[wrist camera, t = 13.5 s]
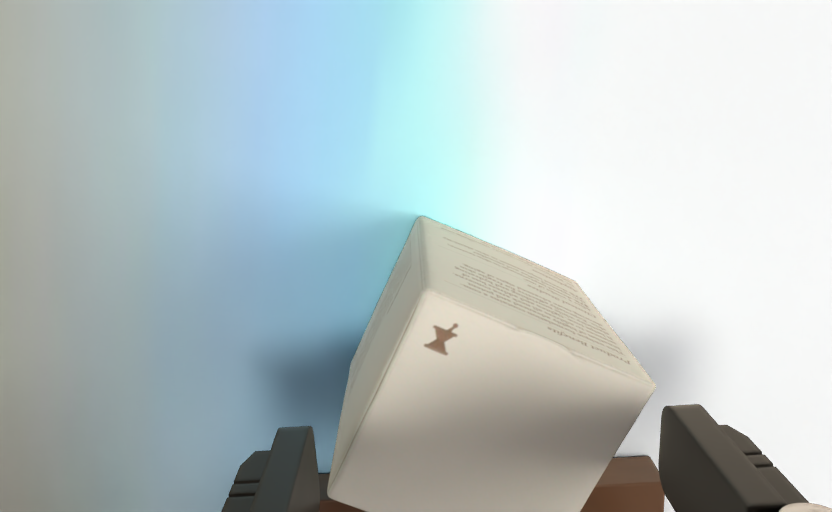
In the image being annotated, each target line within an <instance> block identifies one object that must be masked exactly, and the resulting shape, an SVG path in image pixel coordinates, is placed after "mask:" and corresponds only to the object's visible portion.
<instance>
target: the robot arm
mask: <svg viewBox="0 0 832 512" xmlns="http://www.w3.org/2000/svg"><path fill="white" fill-rule="evenodd" d="M659 476H660V482H661V485H662V488H663V491H664V493H665V495H666V497H667V499H668V500H669V502H670V503H671V505H672V507H673V508H674V510H675V512H832V509H831V508H828V507H825V506H822V505H818V504H812V503H809V502H808V501H807V500H806V499H805V498H804V497H803V496H802V495H801V494H800V492H799V491H798V490H797V489H796V488H795V487H794V486H793V485H792V484H791V483H790V482H789V481H788V480H787V478H786V477H785V476H784V475H783V474H782V473H781V472H780V471H779V470H778V469H777V468H776V467H773V463H772V462H771V461H770V460H769V459H768V458H767V457H766V456H765V455H762V452H761V450H760V449H759V448H758V447H757V446H756V445H755V444H754V443H753V442H752V441H751V440H750V439H749V438H748V437H747V436H745V435H744V434H742V433H740V432H738V431H737V430H735V429H733V428H731V427H730V426H728V425H718V424H717V423H716V421H715V420H714V419H713V418H712V417H711V416H710V415H709V413H708V412H707V411H706V410H705V409H704V408H703V407H702V406H701V405H699V404H694V405H676V406H665V407H664V409H663V411H662V417H661V434H660V450H659ZM319 507H320V486H319V477H318V468H317V459H316V450H315V442H314V434H313V429H312V427H311V426H300V427H282V428H278V430H277V433H276V436H275V439H274V441H273V444H272V447H271V450H269V451H255V452H254V453H253V454H252V455H251V456H250V457H249V458H248V459H247V460H246V461H245V462H244V463H243V464H242V465H241V466H240V468H239V470H238V473H237V475H236V478H235V480H234V484H233V485H232V487H231V490H230V492H229V497H228V498H227V499H226V502H225V504H224V507H223V509H222V512H319Z"/></svg>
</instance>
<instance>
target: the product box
mask: <svg viewBox="0 0 832 512" xmlns="http://www.w3.org/2000/svg"><path fill="white" fill-rule="evenodd" d="M655 388H656V385H655V383H654V382H653V381H652V379H651V378H650V377H649V375H648V374H647V373H646V371H645V370H644V369H643V368H642V366H641V365H640V364H639V362H638V361H637V359H636V358H635V357H634V356H633V355H632V353H631V352H630V350H629V349H628V348H627V347H626V346H625V344H624V343H623V342H622V341H621V339H620V338H619V337H618V335H617V334H616V333H615V332H614V331H613V329H612V328H611V327H610V325H609V324H608V323H607V322H606V320H605V319H604V318H603V317H602V315H601V314H600V313H599V311H598V310H597V309H596V308H595V306H594V305H593V304H592V302H591V301H590V299H589V298H588V297H587V296H586V294H585V293H584V292H583V290H582V289H581V288H580V286H579V285H578V283H577V282H576V281H573V280H571V279H569V278H567V277H565V276H563V275H561V274H558V273H556V272H554V271H552V270H549V269H547V268H545V267H543V266H540V265H538V264H536V263H534V262H531V261H529V260H527V259H525V258H522V257H520V256H518V255H515V254H513V253H511V252H508V251H506V250H504V249H501V248H499V247H496V246H494V245H492V244H489V243H487V242H485V241H482V240H480V239H477V238H475V237H473V236H470V235H468V234H465V233H463V232H461V231H458V230H456V229H454V228H451V227H449V226H447V225H444V224H441V223H439V222H436V221H434V220H431V219H429V218H426V217H424V216H420V217H418V218H417V220H416V221H415V223H414V226H413V228H412V230H411V232H410V234H409V237H408V239H407V241H406V243H405V245H404V247H403V250H402V252H401V254H400V256H399V258H398V260H397V262H396V265H395V267H394V269H393V271H392V273H391V275H390V277H389V279H388V282H387V284H386V286H385V288H384V290H383V292H382V294H381V297H380V299H379V301H378V303H377V305H376V308H375V310H374V312H373V314H372V317H371V319H370V321H369V323H368V326H367V328H366V330H365V332H364V335H363V337H362V339H361V341H360V343H359V346H358V348H357V350H356V353H355V355H354V357H353V359H352V362H351V364H350V371H349V377H348V383H347V388H346V392H345V396H344V401H343V407H342V412H341V417H340V422H339V427H338V433H337V439H336V444H335V450H334V455H333V461H332V466H331V471H330V477H329V482H328V488H327V494H328V497H329V498H331V499H333V500H336V501H338V502H341V503H344V504H347V505H350V506H353V507H355V508H358V509H361V510H364V511H366V512H580V511H581V509H582V508H583V506H584V504H585V503H586V501H587V499H588V497H589V496H590V494H591V492H592V491H593V489H594V487H595V486H596V484H597V482H598V481H599V479H600V477H601V476H602V474H603V472H604V471H605V469H606V467H607V466H608V464H609V462H610V461H611V459H612V458H613V456H614V454H615V453H616V451H617V450H618V448H619V446H620V445H621V443H622V441H623V440H624V438H625V437H626V435H627V434H628V432H629V430H630V429H631V427H632V426H633V424H634V422H635V421H636V419H637V417H638V416H639V414H640V412H641V411H642V409H643V407H644V406H645V404H646V403H647V401H648V400H649V398H650V396H651V395H652V393H653V392H654V390H655Z"/></svg>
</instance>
